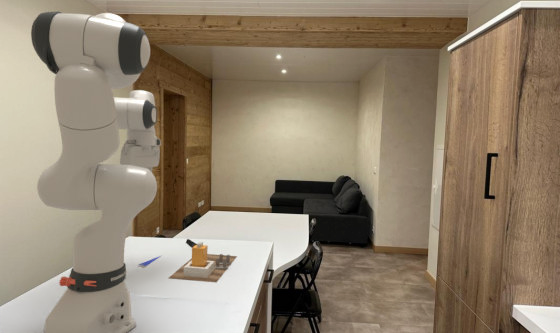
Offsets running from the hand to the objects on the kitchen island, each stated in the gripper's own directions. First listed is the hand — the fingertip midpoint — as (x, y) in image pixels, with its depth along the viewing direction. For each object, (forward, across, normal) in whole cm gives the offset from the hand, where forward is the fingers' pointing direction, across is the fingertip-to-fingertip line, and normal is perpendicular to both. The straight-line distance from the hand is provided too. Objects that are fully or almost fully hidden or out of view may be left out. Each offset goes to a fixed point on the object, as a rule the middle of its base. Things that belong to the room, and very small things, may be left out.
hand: (140, 181), depth 124 cm
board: (+31, +8, -21) cm, 38 cm away
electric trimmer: (+32, +31, -8) cm, 45 cm away
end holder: (+30, +1, -21) cm, 36 cm away
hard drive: (+32, +10, -2) cm, 34 cm away
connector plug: (+30, +1, -21) cm, 36 cm away
